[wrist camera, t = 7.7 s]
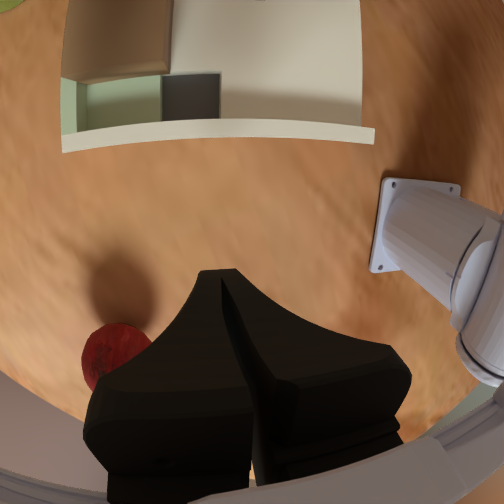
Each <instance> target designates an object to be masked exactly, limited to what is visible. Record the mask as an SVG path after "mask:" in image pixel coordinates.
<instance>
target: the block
mask: <svg viewBox="0 0 504 504" xmlns="http://www.w3.org/2000/svg"><path fill="white" fill-rule="evenodd" d="M173 8H174V0H69V4H68V10H67V16H66V23H65V31H64V39H63V50H62V62H61V77H62V78H66V79H69V80H72V81H76V82H79V83H82V84H86V85H92V84H97V83H103V82H109V81H115V80H121V79H129V78H136V77H145V76H155V75H166V74H170V64H171V39H172V22H173Z"/></svg>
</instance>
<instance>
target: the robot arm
mask: <svg viewBox="0 0 504 504" xmlns="http://www.w3.org/2000/svg"><path fill="white" fill-rule="evenodd" d="M393 182H394V186H393V187H392V183H393ZM460 191H461V187H460V185H458V184H453V183H445V182H436V181H426V180H416V179H404V178H392V177H386V178H384V179H383V181H382V185H381V194H380V202H379V209H378V216H377V223H376V229H375V236H374V242H373V248H372V253H371V259H370V264H369V270H370V271H371V272H372V273H380V272H388V271H396V270H403V271H404V272H405V273H406V274H408V275H409V276H410V277H411V278H412V279H414V280H415V281H416V282H417V283H418V284H420V285H421V286H422V287H423V288H424V289H425V290H427V291H428V292H429V293H430V294H431V295H432V296H434V297H435V298H436V299H437V300H438V301H439V302H440V303H442V304H443V305H444V306H445V307H446V308H447V309H448V310H449V311H451V312H452V315H451V318H450V321H449V324H450V325H451V326H453V327H454V328H455V329H456V330H457V331H458V332H459V333H458V335H457V337H456V342H455V344H456V350H457V353H458V355H459V357H460V359H461V361H462V363H463V364H464V366H465V367H466V369H467V370H468V371H469V372H470V373H471V374H472V375H473V376H474V377H476V378H477V379H478V380H480V381H481V382H483V383H485V384H487V385H490V386H493V387H498V388H497V390H496V391H495V393H494V395H493V397H492V398H490V399H489V400H487V401H486V402H485V403H483V404H481V405H480V406H478V407H477V408H475V409H474V410H472V411H470V412H469V413H467V414H466V415H464V416H463V417H461V418H459V419H457V420H455V421H454V422H452V423H450V424H448V425H447V426H445V427H443V428H441V429H439V430H437V431H435V432H433V433H432V434H430V435H428V436H426V437H422V438H420V439H417V440H414V441H411V442H408V443H403V441H402V440H401V438H400V436H399V435H398V433H397V431H398V430H399V429H400V424H399V422H398V421H397V419H396V417H395V414H396V413H397V411H398V409H399V408H400V406H401V404H402V402H403V401H404V399H405V397H406V395H407V393H408V391H409V388H410V386H411V380H412V374H411V372H410V370H409V368H408V367H407V365H406V364H405V363H404V362H403V360H402V359H401V358H400V357H399V355H398V354H397V353H396V351H395V350H394V349H393V348H392V347H391V346H390V345H386V344H381V343H376V342H371V341H366V340H361V339H357V338H353V337H350V336H346V335H343V334H340V333H336V332H334V331H331V330H328V329H325V328H323V327H321V326H318V325H316V324H313V323H311V322H309V321H307V320H305V319H303V318H301V317H299V316H297V315H295V314H293V313H292V312H290V311H288V310H286V309H285V308H283V307H282V306H280V305H279V304H277V303H276V302H274V301H273V300H271V299H270V298H269V297H267V296H266V295H265V294H263V293H262V292H261V291H260V290H259V289H257V288H256V287H255V286H254V285H253V284H252V283H251V282H250V281H249V280H247V279H246V278H245V277H244V276H243V275H242V274H241V273H240V272H239V271H238V270H237V269H236V268H234V269H219V270H202V271H200V272H199V273H198V277H197V280H196V283H195V285H194V288H193V290H192V291H191V293H190V295H189V297H188V299H187V301H186V302H185V304H184V305H183V307H182V308H181V310H180V311H179V313H178V314H177V316H176V317H175V318H174V320H173V321H172V322H171V323H170V325H169V326H168V327H167V328H166V329H165V330H164V331H163V332H162V333H161V335H160V336H159V337H158V338H157V339H156V340H155V341H154V342H152V343H151V344H150V345H149V346H148V347H147V348H145V349H144V350H143V351H142V352H140V353H139V354H138V355H136V356H135V357H133V358H132V359H131V360H129V361H128V362H126V363H125V364H123V365H121V366H119V367H118V368H116V369H114V370H113V371H111V372H109V373H107V374H106V375H104V376H102V377H100V378H99V379H98V381H97V383H96V386H95V388H94V391H93V393H92V395H91V398H90V401H89V404H88V409H87V413H86V418H85V423H84V429H83V440H84V441H85V443H86V445H87V447H88V448H89V450H90V451H91V452H92V453H93V455H94V456H95V457H96V458H97V460H98V461H99V462H100V463H101V464H102V466H103V467H104V468H105V469H106V470H107V471H108V485H107V493H106V492H98V491H91V490H85V489H79V488H74V487H68V486H64V485H59V484H54V483H50V482H46V481H42V480H38V479H35V478H31V477H28V476H24V475H21V474H18V473H15V472H12V471H9V470H6V469H3V468H0V504H454V503H455V502H457V501H458V500H460V499H461V498H462V497H464V496H465V495H467V494H468V493H469V492H471V491H472V490H473V489H474V488H476V487H477V486H478V485H480V484H481V483H482V482H484V481H485V480H486V479H487V478H488V477H490V476H491V475H492V474H493V473H494V472H495V471H497V470H498V469H499V468H500V467H501V466H502V465H503V464H504V210H503V213H502V215H500V214H498V213H496V212H494V211H492V210H490V209H488V208H485V207H483V206H481V205H479V204H476V203H474V202H472V201H470V200H467V199H465V198H463V197H460ZM380 265H381V266H380ZM379 266H380V267H379ZM378 267H379V268H378ZM251 461H252V464H253V469H254V474H255V480H256V485H257V487H251V488H249V473H250V470H251Z"/></svg>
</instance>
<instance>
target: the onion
mask: <svg viewBox="0 0 504 504" xmlns="http://www.w3.org/2000/svg"><path fill="white" fill-rule="evenodd" d="M151 343H152V342H151V341H150V340H149V338H148V337H147V336H146V335H145V334H144V333H143V332H141V331H139V330H138V329H136V328H135V327H133V326H129V325H126V324H122V323H114V324H107V325H105V326H103V327H101V328H99V329H98V330H96V331H95V332H93V333H92V334H91V335H90V337H89V338H88V339H87V342H86V344H85V347H84V350H83V353H82V357H81V361H82V370H83V375H84V379H85V381H86V383H87V385H88V386H89V388H90V389H91V390H92V392H93V391H94V388H95V386H96V383H97V381H98V379H99V378H100V377H102V376H104V375H106V374H107V373H109V372H111V371H113V370H114V369H116V368H118V367H119V366H121V365H123V364H125V363H126V362H128V361H129V360H131V359H132V358H133V357H135V356H136V355H138V354H139V353H140V352H142V351H143V350H144V349H145V348H147V347H148V346H149V345H150V344H151Z"/></svg>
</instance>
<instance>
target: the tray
mask: <svg viewBox="0 0 504 504" xmlns="http://www.w3.org/2000/svg"><path fill="white" fill-rule="evenodd" d="M60 110H61V140H62V153H66V152H72V151H78V150H84V149H91V148H97V147H104V146H112V145H120V144H128V143H138V142H148V141H160V140H173V139H189V138H213V137H280V138H304V139H320V140H334V141H345V142H356V143H365V144H374V134H375V129H373V128H366V127H361V113H362V36H361V16H360V2H359V0H174V8H173V22H172V39H171V64H170V74H166V75H155V76H145V77H136V78H129V79H121V80H115V81H109V82H103V83H97V84H92V85H86V84H82V83H79V82H76V81H72V80H69V79H66V78H62V77H61V96H60Z"/></svg>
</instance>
